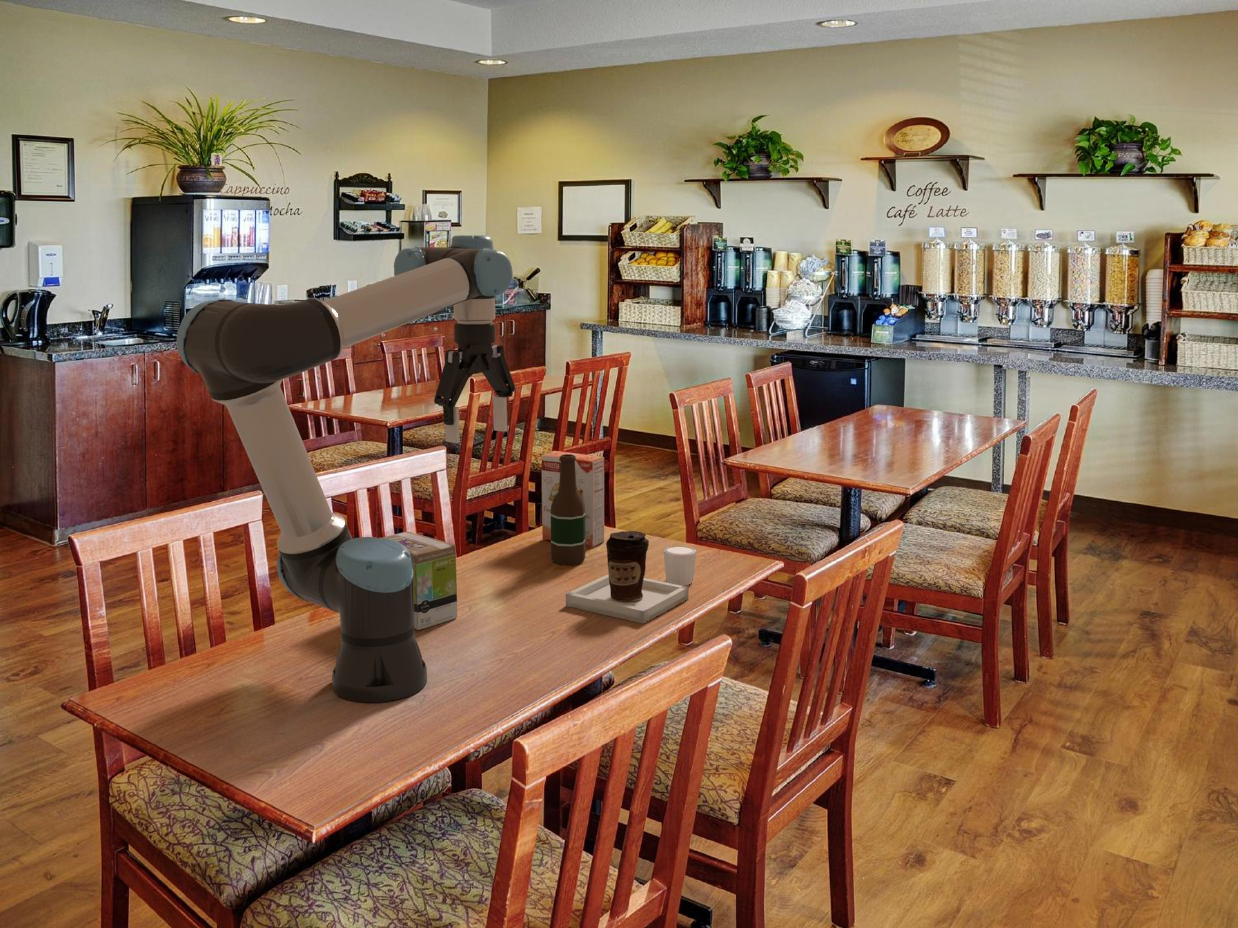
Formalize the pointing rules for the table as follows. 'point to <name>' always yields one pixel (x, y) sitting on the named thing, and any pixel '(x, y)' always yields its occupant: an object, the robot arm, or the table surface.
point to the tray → (651, 605)
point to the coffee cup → (626, 564)
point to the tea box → (431, 578)
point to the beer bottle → (568, 518)
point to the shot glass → (679, 564)
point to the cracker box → (587, 486)
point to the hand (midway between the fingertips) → (477, 436)
